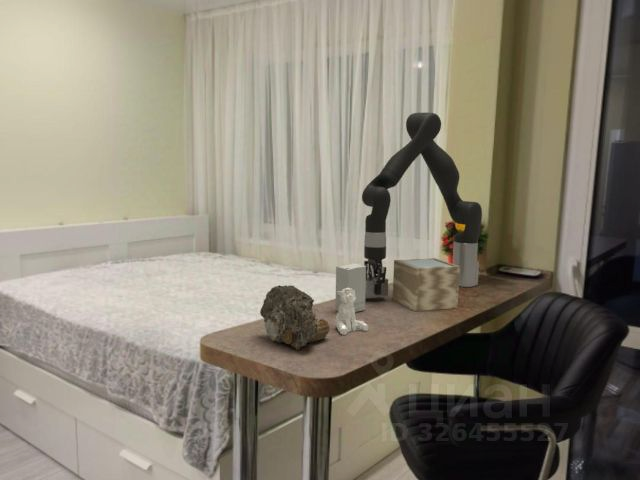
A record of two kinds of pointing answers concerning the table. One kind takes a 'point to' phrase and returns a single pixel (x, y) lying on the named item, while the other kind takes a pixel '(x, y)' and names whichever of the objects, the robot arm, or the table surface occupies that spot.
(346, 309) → the seated beast figurine
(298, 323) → the rock
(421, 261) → the hatch door
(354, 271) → the skincare box
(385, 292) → the metal brick
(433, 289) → the hatch box
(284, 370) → the table surface
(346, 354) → the table surface
